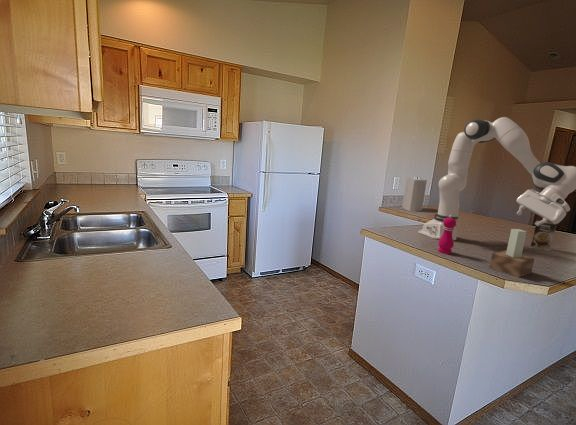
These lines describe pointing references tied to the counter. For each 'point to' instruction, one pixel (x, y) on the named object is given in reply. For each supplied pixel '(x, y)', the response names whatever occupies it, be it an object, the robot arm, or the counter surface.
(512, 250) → the sage block
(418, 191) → the paper bag
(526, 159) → the robot arm
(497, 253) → the walnut riser block
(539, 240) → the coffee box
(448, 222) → the pepper mill
